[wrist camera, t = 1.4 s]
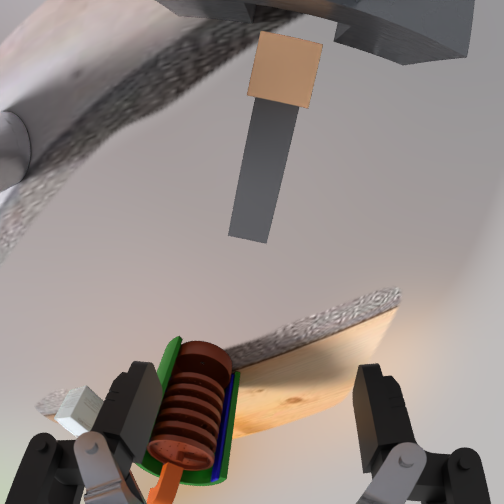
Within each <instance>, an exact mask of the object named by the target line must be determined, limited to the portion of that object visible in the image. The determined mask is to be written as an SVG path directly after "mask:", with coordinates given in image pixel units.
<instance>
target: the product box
mask: <svg viewBox="0 0 504 504" xmlns="http://www.w3.org/2000/svg"><path fill="white" fill-rule="evenodd" d="M103 402H104V401H103V400H102V399H101V398H99V397H98V396H97V395H96V394H95V393H94V392H93V391H92V390H91V389H90V388H89V387H88V386H83V387H80V388H76V389H72V390H70V391H69V393H68V394H67V396H66V398H65V399H64V401H63V403H62V405H61V407H60V408H59V410H58V412H57V414H56V416H55V417H54V419H55V420H56V421H58V422H59V423H60V424H61V425H62V426H63V427H64V428H65V429H66V430H68V431H70V432H71V433H72V434H73V435H74V436H76V437H77V438H78V437H79V436H80V435H81V434H83V433H85V432H89V431H90V430H91V429H92V427H93V425H94V422H95V420H96V418H97V416H98V413H99V411H100V409H101V407H102V405H103Z"/></svg>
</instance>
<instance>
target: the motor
mask: <svg viewBox="0 0 504 504" xmlns="http://www.w3.org/2000/svg"><path fill="white" fill-rule="evenodd" d="M181 342H182V338H181V337H180V336H178V337H176V338H174V339H173V340H172V341H170V342H169V344H168V345H167V347H166V349H165V352H164V354H163V357H162V360H161V362H160V365H159V368H158V370H157V375H158V378H159V380H160V383H161V386H162V391H163V394H162V400H161V404H160V407H159V410H158V413H157V416H156V419H155V422H154V425H153V428H152V432H151V435H150V438H149V441H148V444H147V447H146V451H145V454H144V457H143V460H142V464H138V463H135V464H136V465H138V466H139V467H140V468H142V469H143V470H145V471H147V472H149V473H150V474H152V475H155V476H157V477H159V481H158V483H157V485H156V487H154V488H150V491H149V495H148V499H147V504H172V502H173V501H174V498H175V495H176V493H177V489H178V486H179V484H185V485H194V486H209V485H215V484H219V483H221V482H223V481H224V480H226V479H227V473H228V465H229V457H230V450H231V441H232V434H233V427H234V419H235V411H236V404H237V396H238V388H239V381H240V372H237V371H236V372H235V374H233V373H232V374H231V371H232V361H231V359H230V357H229V355H228V354H227V353H226V352H225V351H224V350H223V349H221V348H220V347H218V346H216V345H214V344H211V343H208V342H204V341H190V342H186V343H184V344H182V345H181ZM201 362H204V363H205V364H201Z"/></svg>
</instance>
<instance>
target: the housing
mask: <svg viewBox="0 0 504 504" xmlns="http://www.w3.org/2000/svg"><path fill="white" fill-rule="evenodd" d="M156 1H157V2H159V3H160V4H162V5H163V6H165V7H166V8H168V9H169V10H170V11H172V12H173V13H175V14H176V15H178V16H184V17H199V18H211V19H220V20H229V21H237V22H244V23H251V24H252V22H253V17H254V13H255V9H256V5H257V4H258V5H264V6H270V7H275V8H281V9H286V10H291V11H295V12H300V13H304V14H309V15H313V16H317V17H321V18H325V19H328V20H332V21H335V22H338V24H337V29H336V33H335V38H334V42H337V43H340V44H343V45H347V46H350V47H353V48H357V49H360V50H363V51H366V52H368V53H372V54H374V55H377V56H380V57H383V58H386V59H388V60H391V61H393V62H396V63H399V64H401V65H408V64H415V63H421V62H428V61H436V60H446V59H455V58H466V57H467V53H468V48H469V42H470V35H471V27H472V19H473V10H474V1H475V0H156Z"/></svg>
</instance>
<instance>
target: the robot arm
mask: <svg viewBox="0 0 504 504" xmlns="http://www.w3.org/2000/svg"><path fill="white" fill-rule="evenodd" d="M29 162H30V141H29V136H28V133H27V130H26V127H25V126H24V124H23V122H22V121H21V119H20V118H19V117H18V116H17V115H15V114H14V113H11V112H0V193H1V192H2V191H4V190H6V189H8V188H10V187H12V186H13V185H15V184H17V183H19V182H20V181H21V180H22V179H23V177H24V176H25V174H26V172H27V169H28V166H29ZM162 394H163V391H162V386H161V383H160V380H159V378H158V375H157V373H156V370H155V367H154V365H153V364H152V363H150V362H140V361H134V362H133V363H132V364H131V367H130V368H129V371H128V373H125V372H122V373H121V374H120V375H119V376H118V377H117V378H116V379H115V380H114V381H113V383H112V385H111V387H110V390H109V393H108V394H107V396H106V398H105V399H106V400H105V401H104V402H103V405H102V407H101V409H100V411H99V413H98V416H97V418H96V420H95V422H94V425H93V427H92V429H91V430H90V431H89V432H85V433H83V434H81V435H80V436H79V437H78V438H77V439H76V440H61V441H60V440H56V439H55V438H54V437H53V436H52V435H50V434H48V433H40V434H37V435H36V436H34V437H33V438H32V439H31V440H30V442H29V445H28V447H27V449H26V451H25V454H24V456H23V458H22V461H21V463H20V466H19V468H18V471H17V473H16V476H15V478H14V481H13V483H12V486H11V489H10V491H9V494H8V497H7V500H6V502H5V504H80V501H81V497H82V494H83V490H84V487H85V488H86V492H87V493H86V494H85V495H84V501H85V504H147V503H146V501H145V499H144V497H143V495H142V493H141V491H140V489H139V487H138V485H137V483H136V481H135V479H134V476H133V474H132V472H131V470H130V468H131V464H132V462H133V463H138V464H142V460H143V457H144V454H145V451H146V447H147V444H148V441H149V438H150V435H151V432H152V428H153V425H154V422H155V419H156V416H157V413H158V410H159V407H160V404H161V400H162ZM353 407H354V413H355V419H356V425H357V431H358V439H359V446H360V453H361V460H362V468H363V473H370V472H371V474H372V482H371V483H370V485H369V486H368V487H367V489H366V490H365V492H364V493H363V495H362V496H361V497H360V499H359V500H358V502H357V503H356V504H405V502H406V500H411V501H421V504H491V502H490V497H489V492H488V487H487V483H486V479H485V474H484V470H483V466H482V462H481V459H480V456H479V455H478V453H477V452H476V451H474V450H473V449H471V448H459V449H457V450H455V451H454V452H453V453H452V454H437V453H430V452H427V451H425V450H423V449H422V448H421V447H420V446H419V445H418V444H417V442H416V441H415V438H414V434H413V430H412V427H411V423H410V419H409V416H408V412H407V408H406V407H405V402H404V398H403V395H402V392H401V388H400V385H399V384H398V383H397V381H396V380H395V379H394V378H393V377H392V376H383V375H382V372H381V368H380V365H379V364H378V363H376V364H365V365H359V367H358V371H357V375H356V379H355V384H354V388H353Z"/></svg>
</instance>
